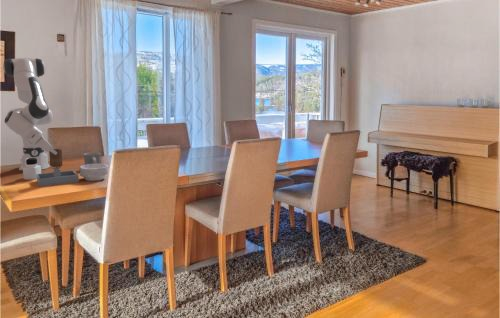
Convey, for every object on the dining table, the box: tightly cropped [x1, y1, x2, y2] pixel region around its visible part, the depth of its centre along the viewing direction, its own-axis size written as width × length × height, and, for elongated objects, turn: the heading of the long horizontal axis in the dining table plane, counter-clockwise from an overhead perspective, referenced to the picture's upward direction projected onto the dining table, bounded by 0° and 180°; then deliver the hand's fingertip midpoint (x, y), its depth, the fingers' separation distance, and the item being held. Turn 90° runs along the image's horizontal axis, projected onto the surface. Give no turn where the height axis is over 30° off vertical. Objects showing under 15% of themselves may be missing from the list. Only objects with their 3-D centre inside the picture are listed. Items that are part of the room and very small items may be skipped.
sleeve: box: [48, 148, 63, 168], centre depth 233 cm, size 6×6×9 cm
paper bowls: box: [79, 163, 109, 182], centre depth 241 cm, size 15×15×8 cm
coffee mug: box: [83, 152, 102, 165], centre depth 268 cm, size 13×10×10 cm
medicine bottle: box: [22, 158, 42, 180], centre depth 243 cm, size 7×7×12 cm
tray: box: [36, 167, 80, 188], centre depth 234 cm, size 15×20×8 cm
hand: (55, 152), depth 232 cm, fingers closed on sleeve, 6 cm apart
